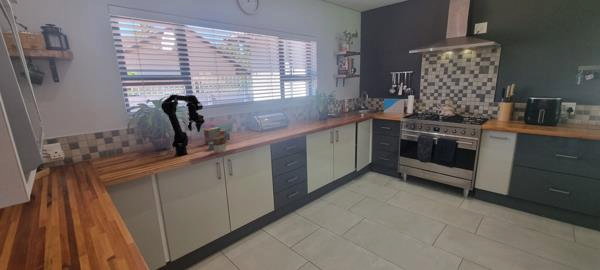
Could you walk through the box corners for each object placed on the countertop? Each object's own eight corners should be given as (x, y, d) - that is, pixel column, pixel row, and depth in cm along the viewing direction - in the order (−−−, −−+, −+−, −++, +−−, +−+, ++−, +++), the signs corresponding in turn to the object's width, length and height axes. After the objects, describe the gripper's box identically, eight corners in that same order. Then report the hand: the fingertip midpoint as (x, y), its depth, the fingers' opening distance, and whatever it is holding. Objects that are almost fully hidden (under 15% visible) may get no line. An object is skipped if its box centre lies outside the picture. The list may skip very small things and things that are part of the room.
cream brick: (219, 152, 183) (218, 145, 182) (214, 151, 185) (213, 145, 184) (226, 149, 191) (225, 143, 190) (221, 148, 192) (220, 142, 191)
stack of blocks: (225, 138, 226) (224, 125, 224) (230, 139, 223) (228, 125, 220) (205, 143, 209) (203, 129, 206) (209, 144, 206) (208, 130, 203)
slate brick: (210, 150, 189) (210, 143, 188) (208, 149, 193) (208, 142, 192) (221, 148, 194) (220, 142, 193) (218, 147, 198) (218, 141, 196)
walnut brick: (218, 145, 182) (217, 139, 181) (213, 145, 184) (212, 138, 183) (226, 143, 189) (225, 136, 188) (221, 142, 191) (221, 136, 190)
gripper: (209, 110, 194) (211, 130, 197) (193, 109, 203) (195, 128, 206) (197, 112, 184) (199, 133, 188) (181, 111, 193) (183, 131, 197)
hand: (194, 131), depth 195 cm, fingers open, 9 cm apart
